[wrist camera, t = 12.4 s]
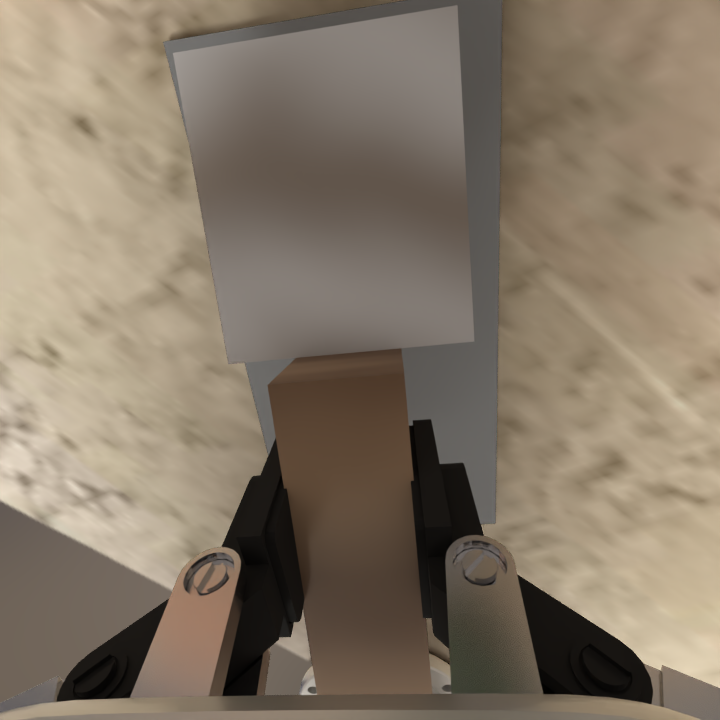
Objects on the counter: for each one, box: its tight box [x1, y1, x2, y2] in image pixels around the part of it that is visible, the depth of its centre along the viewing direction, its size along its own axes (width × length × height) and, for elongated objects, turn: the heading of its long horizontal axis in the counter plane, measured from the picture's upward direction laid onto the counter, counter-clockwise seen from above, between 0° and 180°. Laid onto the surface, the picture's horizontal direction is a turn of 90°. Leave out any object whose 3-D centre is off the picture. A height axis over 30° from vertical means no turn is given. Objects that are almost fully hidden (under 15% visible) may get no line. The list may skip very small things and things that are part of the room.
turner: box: [173, 5, 474, 695], centre depth 11 cm, size 20×7×4 cm, turn 7°
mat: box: [163, 0, 502, 524], centre depth 19 cm, size 24×12×1 cm, turn 7°
